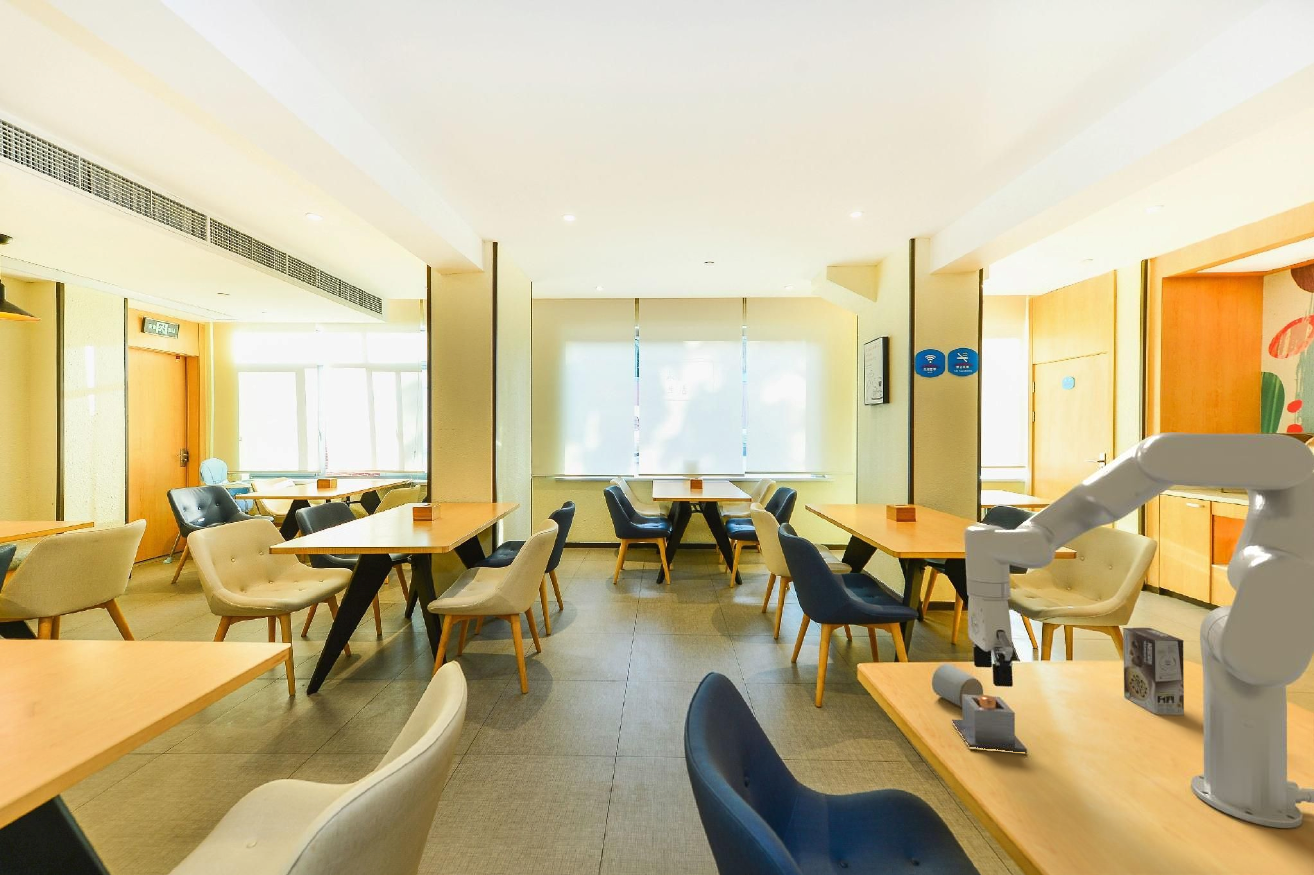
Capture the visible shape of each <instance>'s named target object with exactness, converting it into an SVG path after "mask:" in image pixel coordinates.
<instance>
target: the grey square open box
mask: <svg viewBox="0 0 1314 875" xmlns="http://www.w3.org/2000/svg"><path fill="white" fill-rule="evenodd" d="M979 696H980V695H966V694H962V707H961V709H962V714H961V716H962V717H961V720H962V724H963V725H964V726H965V728H966V729H967V731H968V732H969V733H970V735H971V736H972V737H973V739H974V740H975V741H980V742H992V743H1003V744H1015V736H1016V734H1015V733H1016V730H1015V729H1016V726H1015V724H1016V720H1015V718H1016V717H1015V714H1016V713H1015V712H1014V711H1013V709H1012V708H1011V707H1010V706H1009V705H1008V704H1007V703H1006V702H1005V701H1004V700H1003V699H1002V698H1001V697H1000V696H993V695H992V697H994V698H995V699H996V709H993V708H980V707H979Z"/></svg>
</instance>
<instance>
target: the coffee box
mask: <svg viewBox="0 0 1314 875" xmlns="http://www.w3.org/2000/svg"><path fill="white" fill-rule="evenodd" d="M1122 642H1123V643H1122V644H1123V645H1122V646H1123V648H1122V650H1123V651H1122V652H1123V653H1122V654H1123V697H1124V699H1127V700H1128V701H1131V702H1132V703H1133V704H1137V705H1138V706H1140V707H1142V708H1143V709H1145V710H1147V711H1149V712H1151V713H1153V714H1155V715H1161V716H1162V715H1164V716H1167V715H1170V716H1171V715H1173V716H1184V714H1185V710H1184V709H1185V704H1184V703H1185V702H1184V701H1185V699H1184V698H1185V687H1184V686H1185V685H1184V682H1185V681H1184V679H1185V678H1184V677H1185V676H1184V675H1185V674H1184V666H1185V665H1184V639H1181V638H1179V637H1175V636H1174V635H1173V636H1172V635H1171V634H1167V633H1165V632H1162V631H1159V630H1157V629H1154V628H1151V627H1123V628H1122Z"/></svg>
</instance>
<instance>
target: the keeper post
mask: <svg viewBox="0 0 1314 875" xmlns="http://www.w3.org/2000/svg"><path fill="white" fill-rule="evenodd" d="M992 696H993V695H992ZM992 696H991V695H988V694H987V695H986V694H984V695H980V696H979V707H980V708H993V709H996V699H995V698H994V697H995V696H993V697H992ZM952 721H953V723H954V724H955V726H956V727H957V729H958V731H959V732H960V733H961V734H962V736H963V738H964V739H965V741H966V742H967V743H968V745H969V747H976V748H977V747H978V748H983V749H984V748H985V749H996V750H997V749H998V750H1005V751H1013V752H1025V753H1027V754H1028V749H1027V748H1026V746H1025V745H1024V744H1023V743H1022V741H1021V740H1019V738H1018V737H1017V736H1016V735H1015V744H1003V743H992V742H980V741H975V740H974V739H973V737H972V736H971V735H970V733H969V732H968V731H967V729H966V728H965V726H964V725H963V724H962V719H951V722H952Z"/></svg>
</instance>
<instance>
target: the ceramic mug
mask: <svg viewBox="0 0 1314 875" xmlns="http://www.w3.org/2000/svg"><path fill="white" fill-rule="evenodd" d="M931 686H932V690H933V692H934V693H935V694H936V695H937V696H938V695H939V697H940V696H941V697H940V698H942V697H943V698H942V699H944V698H945V699H944V700H946V699H947V700H946V701H948V700H949V701H948V702H950V701H951V702H950V703H952V702H953V703H952V704H954V703H955V704H954V705H956V704H957V705H956V706H958V707H959V706H961V707H960V708H962V694H966V695H985V694H984V688H983V685H982V683H981V682H980V680H979V679H978V678H976V677H974V676H973V675H972V674H969V673H967V672H966V671H964V670H962V669H960V668H958V667H956V666H954V665H953V664H951V663H948V662H947V663H943V664H941V665H940V664H939V666H938V667H937V668H936V669H935V671H934V672H933V674H932V678H931Z"/></svg>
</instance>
